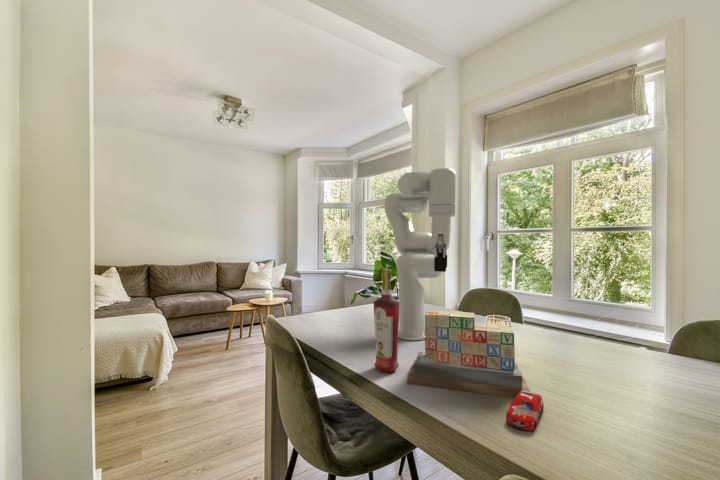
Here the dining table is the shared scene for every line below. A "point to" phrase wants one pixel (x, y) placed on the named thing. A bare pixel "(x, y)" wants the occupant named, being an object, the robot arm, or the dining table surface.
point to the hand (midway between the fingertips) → (440, 269)
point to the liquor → (386, 327)
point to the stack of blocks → (467, 341)
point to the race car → (525, 410)
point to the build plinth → (465, 385)
